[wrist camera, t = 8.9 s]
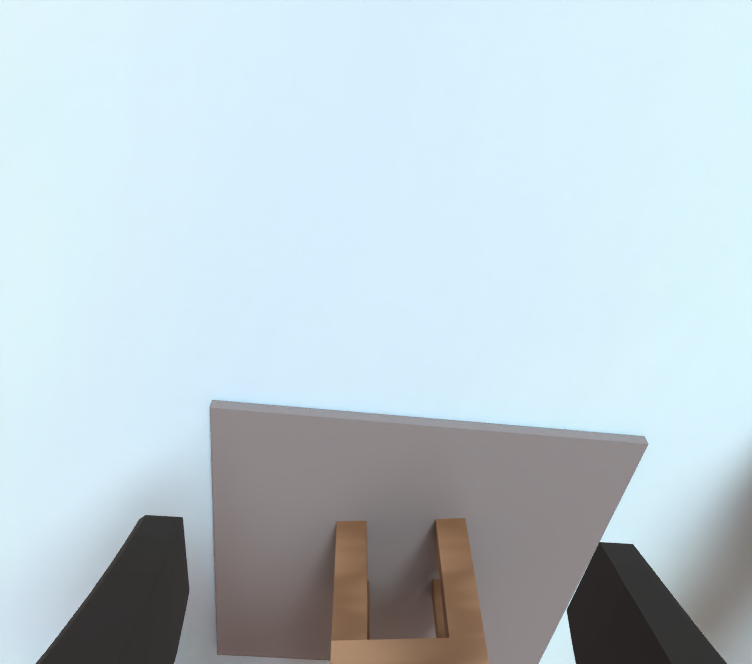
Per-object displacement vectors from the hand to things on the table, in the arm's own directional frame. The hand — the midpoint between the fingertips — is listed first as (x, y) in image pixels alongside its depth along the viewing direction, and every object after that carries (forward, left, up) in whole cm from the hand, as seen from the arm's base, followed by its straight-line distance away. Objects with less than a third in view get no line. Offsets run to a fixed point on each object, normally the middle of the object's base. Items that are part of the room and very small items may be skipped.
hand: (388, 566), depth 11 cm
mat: (-3, +14, -10) cm, 17 cm away
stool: (-3, +13, -10) cm, 17 cm away
